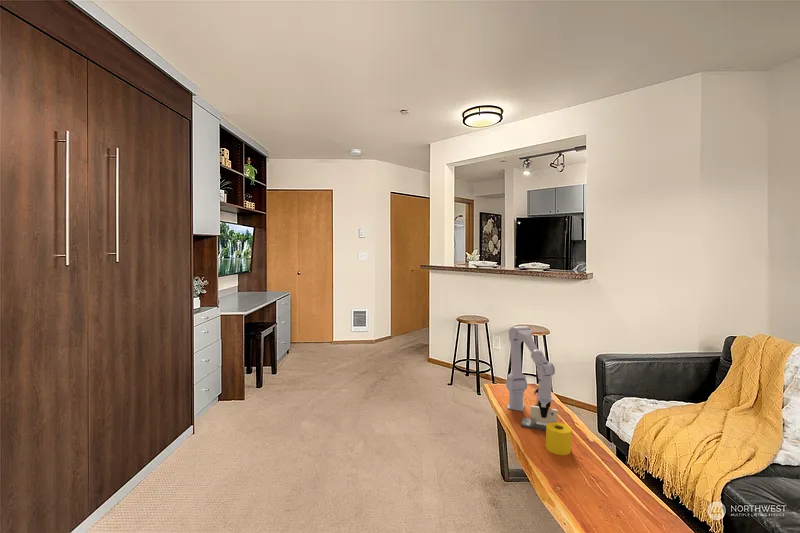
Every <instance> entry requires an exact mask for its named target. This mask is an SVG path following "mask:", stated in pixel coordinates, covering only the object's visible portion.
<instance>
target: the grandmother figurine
mask: <svg viewBox="0 0 800 533" xmlns="http://www.w3.org/2000/svg"><path fill="white" fill-rule="evenodd" d="M538 390H539V383H538V388H537V389H536V390H535V391H534V392H533V395H534V396H535V395H536V403H535V405H534V406H538V402H539V401H538ZM538 407H539V406H538Z"/></svg>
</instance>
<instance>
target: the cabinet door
mask: <svg viewBox="0 0 800 533" xmlns="http://www.w3.org/2000/svg"><path fill="white" fill-rule="evenodd" d="M529 410H530V413H529V414H530V416H529V419H530V421H531V417H532V418H535V422H541V423H546V424H548V423H550V422H552V421H555V422H558V409H556V408H550V407H549V409H548V412H547V417H546V418H543V417H541V412H540V408H539V406H536V405H530V409H529Z"/></svg>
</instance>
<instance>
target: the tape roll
mask: <svg viewBox="0 0 800 533" xmlns="http://www.w3.org/2000/svg"><path fill="white" fill-rule="evenodd" d="M545 432H546V433H545V448H546V450H547V451H548V452H550V453H551V454H554V455H558V456H559V455H560V456H567V455H570V454H571V453H572V434H573V433H572V432H573V429H572V427H571V426H569V424H566V423H563V422H558V421H557V422H550V423H548V424H547V425H546V431H545Z"/></svg>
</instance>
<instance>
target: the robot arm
mask: <svg viewBox="0 0 800 533" xmlns="http://www.w3.org/2000/svg"><path fill="white" fill-rule="evenodd" d="M532 336H533V331H532V329H531V327H530V326H529V325H523V326H521V325H520V326H511V327H510V328H509V329H508V340H509V342H510V343H509V344H510V364H511V365H510V368H511V370H510V371H511V372H510V373H508V375H507V376H506V381H505V387H506V389H507V391H508V392H509V393H508V405H507V408H506V409H509V410H514V411H518V412H524V408H525V406H526V403H524V393H525V391H526V390H527V388H528V381H527V377H526V375H525V374H523V372H522V371H523V370H522V348H521V347H522V342H523V343H524V344H525V345H526V347H527V348H528V350H529V352H530V357H531V359H532V361H533V363H534V365H535V367H536V368H535V369H536V373H537V378H538V384H539V386H538V388H539V390H538V393H537V394H538V401H539V402H538V407H539V408H540V412H541V417H543V418H546V417H547V412H548V409H549V408H550V407H551V403H552V402H553V401H555V400H554V398H553V397H552V381H553V380H552V379H553V378H552V377H553V376H554V374H555V372H556V369H555V365H554V364H553V363H552V362H550V361H549V360H547V358H546V356H545V355H544V353H543V351H542V350H540V349H538V347H537V344H536V342H535V340H534V338H533V337H532Z"/></svg>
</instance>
